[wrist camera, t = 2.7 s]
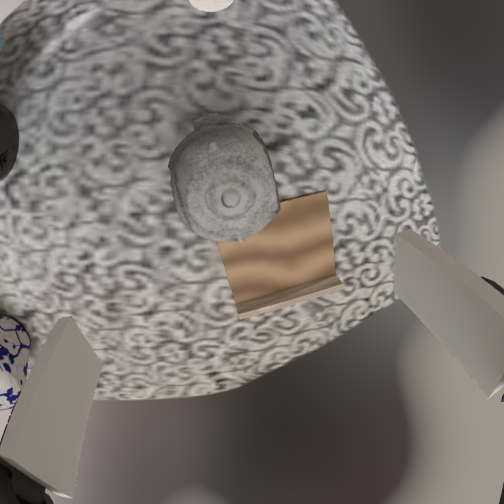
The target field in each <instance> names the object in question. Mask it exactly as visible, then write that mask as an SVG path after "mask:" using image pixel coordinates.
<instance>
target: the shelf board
mask: <svg viewBox="0 0 504 504" xmlns="http://www.w3.org/2000/svg"><path fill="white" fill-rule="evenodd" d="M280 206H281V210H280V211H279V212H278V214H277V215H276V216H275V217H274V218H273V219H272V220H271V221H270V222H269V223H268V224H267V225H266V226H265V227H264V228H263V229H262V230H260V231H259V232H258V233H256V234H255V235H253V236H251V237H249V238H247V239H246V240H245V241H244V242H242V243H238V242H220V241H217V244H218V247H219V250H220V254H221V257H222V260H223V264H224V267H225V270H226V273H227V276H228V280H229V283H230V286H231V289H232V292H233V296H234V299H235V302H236V306H237V311H238V316H239V319H244V318H247V317H251V316H255V315H258V314H262V313H265V312H269V311H273V310H276V309H280V308H283V307H286V306H290V305H293V304H296V303H300V302H303V301H306V300H310V299H313V298H316V297H319V296H322V295H326V294H329V293H332V292H335V291H338V290H341V289H343V283H342V282H341V281H340V279H339V278H338V277H337V276H336V273H335V261H334V250H333V241H332V231H331V223H330V214H329V206H328V199H327V192H326V191H320V192H316V193H312V194H308V195H303V196H299V197H295V198H291V199H287V200H283V201H280Z"/></svg>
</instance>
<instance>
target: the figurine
mask: <svg viewBox="0 0 504 504" xmlns="http://www.w3.org/2000/svg"><path fill="white" fill-rule="evenodd" d="M193 123H194V128H195V131H194V132H192V133H191V134H190V135H189V136H187V137H186V138H185V139H184V140H183V141H182V142H181V143H180V144H179V145H178V146H177V148H176V149H175V151H174V152H173V154H172V156H171V158H170V161H169V165H168V168H169V169H170V171H171V187H172V193H173V197H174V201H175V205H176V208H177V211H178V213H179V216H180V218H181V220H182V221H183V223H184V224H185V225H186V226H187V227H188V228H189V229H190V230H192V231H193V232H194V233H196V234H197V235H199V236H200V237H202V238H205V239H208V240H211V241H220V242H238V243H242V242H244V241H245V240H246V239H247V238H249V237H251V236H253V235H255V234H256V233H258V232H259V231H260V230H262V229H263V228H264V227H265V226H266V225H267V224H268V223H269V222H270V221H271V220H272V219H273V218H274V217H275V216H276V215H277V214H278V212H279V211H280V210H281V206H280V200H279V195H278V190H277V186H276V182H275V177H274V173H273V169H272V165H271V161H270V157H269V154H268V152H267V149H266V146H265V144H264V142H263V140H262V139H261V138H260V137H259V135H258V133H257V132H256V131H255V130H253V129H251V128H249V127H247V126H243V125H240V124H234V123H221V121H220V118H219V115H218V112H214V113H210V114H207V115H204V116H200V117H197V118H195V119H193Z"/></svg>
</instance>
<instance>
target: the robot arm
mask: <svg viewBox="0 0 504 504" xmlns="http://www.w3.org/2000/svg"><path fill="white" fill-rule="evenodd" d="M3 45H4V38H3V36H2V34H1V33H0V52H1V50H2V48H3ZM17 150H18V129H17V124H16V121H15V119H14V117H13V115H12V114H11V112H10V111H9V110H7V109H6V108H4V107H0V181H2V180H3V179H4V178H5V177H6V176H7V175H8V174H9V172H10V171H11V169H12V167H13V165H14V162H15V159H16V155H17ZM393 291H394V292H395V294H396V295H397V296H398V297H399V298H400V299H401V300H402V301H403V302H404V303H405V304H406V305H407V306H408V307H409V308H410V309H411V310H412V311H413V312H414V313H415V314H416V316H418V318H419V319H420V320H421V321H422V322H423V323H424V324H425V325H426V326H427V327H428V328H429V330H430V331H431V332H432V333H433V334H434V335H435V336H436V337H437V338H438V340H439V341H440V342H441V343H442V344H443V345H444V346H445V348H446V349H448V351H449V352H450V353H451V354H452V356H453V357H454V358H455V359H456V360H457V362H458V363H459V364H460V365H461V366H462V368H463V369H464V370H465V371H466V372H467V373H468V375H469V376H470V377H471V378H472V380H473V381H474V382H475V383H476V385H477V386H478V387H479V388H480V390H481V391H482V392H483V393H484V395H485V396H486V397H487V399H489V398H490V397H491V396H493V395H494V394H495V393H496V392H497V391H499V390H500V389H501V388H502V387H503V385H504V289H503V288H502V287H501V286H499V285H498V284H497V283H495V282H494V281H491V280H489V279H487V278H484V277H479V276H478V275H477V274H476V273H474V272H473V271H472V270H470V269H469V268H467V267H466V266H465V265H463V264H462V263H460V262H459V261H458V260H456V259H455V258H453V257H452V256H450V255H449V254H447V253H446V252H445V251H443V250H442V249H440V248H439V247H437V246H436V245H434V244H433V243H431V242H430V241H428V240H427V239H425V238H424V237H422V236H421V235H419V234H417V233H416V232H414V231H413V230H411V229H409V230H406V231H402V232H399V233H396V249H395V271H394V286H393ZM102 366H103V363H102V362H101V361H100V359H99V358H98V356H97V355H96V353H95V352H94V350H93V349H92V347H91V346H90V344H89V343H88V341H87V340H86V338H85V337H84V335H83V334H82V332H81V330H80V329H79V327H78V326H77V324H76V322H75V321H74V319H73V317H72V316H70V317H66V318H61V319H58V321H57V323H56V324H55V326H54V328H53V330H52V331H51V333H50V335H49V337H48V339H47V341H46V342H45V344H44V346H43V348H42V350H41V352H40V354H39V356H38V358H37V360H36V362H35V364H34V366H33V368H32V370H31V372H30V374H29V376H28V378H27V380H26V382H25V385H24V387H23V389H22V391H21V393H20V396H19V398H18V399H17V401H16V402H15V404H14V407H13V409H12V412H11V416H10V417H9V419H8V424H7V425H6V427H5V430H4V433H3V436H2V438H1V441H0V504H53V501H52V499H51V498H50V496H49V495H48V494H46V493H45V489H46V488H47V489H48V490H50V491H52V492H53V493H55V494H57V495H60V496H64V497H68V498H72V499H73V498H74V490H75V483H76V477H77V470H78V464H79V459H80V454H81V449H82V443H83V439H84V434H85V430H86V425H87V421H88V417H89V413H90V409H91V405H92V401H93V397H94V394H95V390H96V387H97V383H98V380H99V376H100V373H101V369H102ZM501 402H504V394H503V396H502V400H501ZM499 504H504V484H503V489H502V493H501V498H500V502H499Z"/></svg>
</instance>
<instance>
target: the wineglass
mask: <svg viewBox="0 0 504 504" xmlns="http://www.w3.org/2000/svg"><path fill="white" fill-rule="evenodd" d="M189 2H190V3H191V5H192V6H193V7H195V8H196V9H198V10H201V11H205V12H216V11H220V10H223V9H225V8H227V7H228V6H229V5H230V4H231V3H232V2H233V0H189Z"/></svg>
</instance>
